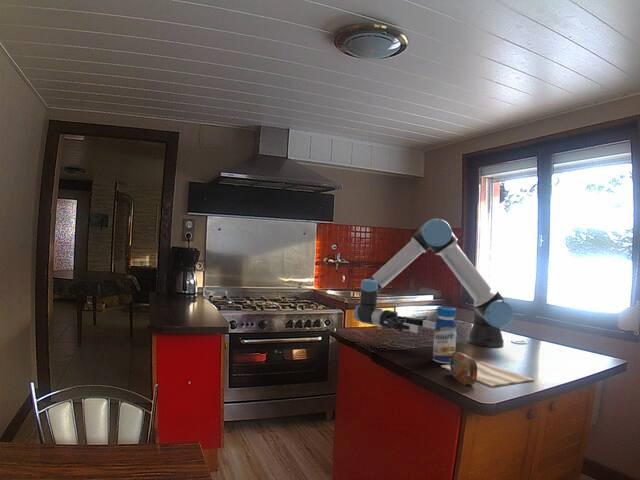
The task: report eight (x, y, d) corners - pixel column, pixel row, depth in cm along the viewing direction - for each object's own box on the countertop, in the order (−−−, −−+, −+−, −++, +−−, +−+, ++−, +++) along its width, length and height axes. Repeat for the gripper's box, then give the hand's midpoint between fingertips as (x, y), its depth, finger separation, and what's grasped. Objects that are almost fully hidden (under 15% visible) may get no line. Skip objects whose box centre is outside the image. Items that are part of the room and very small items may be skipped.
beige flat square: (480, 362, 160) (481, 361, 160) (534, 381, 140) (534, 379, 140) (441, 367, 150) (441, 365, 150) (492, 387, 131) (492, 385, 131)
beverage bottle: (458, 361, 160) (460, 308, 160) (451, 365, 153) (454, 310, 153) (435, 356, 165) (438, 305, 165) (428, 361, 158) (431, 307, 158)
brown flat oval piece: (448, 373, 143) (450, 348, 144) (457, 373, 144) (459, 348, 144) (468, 388, 128) (469, 360, 129) (478, 389, 129) (479, 361, 129)
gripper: (402, 324, 189) (444, 334, 174) (364, 330, 173) (407, 340, 157) (402, 308, 189) (445, 315, 174) (365, 311, 173) (408, 320, 157)
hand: (427, 327), depth 165 cm, fingers open, 13 cm apart
